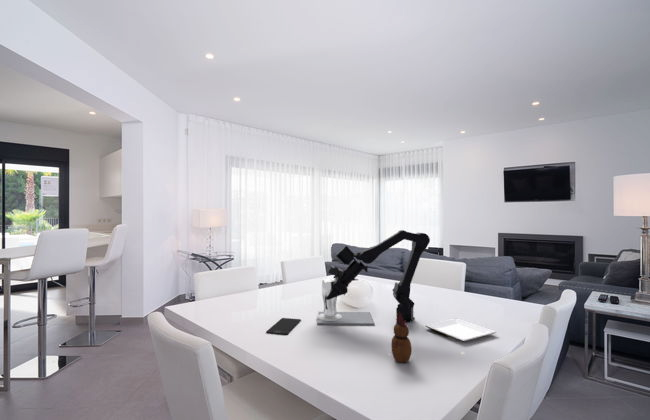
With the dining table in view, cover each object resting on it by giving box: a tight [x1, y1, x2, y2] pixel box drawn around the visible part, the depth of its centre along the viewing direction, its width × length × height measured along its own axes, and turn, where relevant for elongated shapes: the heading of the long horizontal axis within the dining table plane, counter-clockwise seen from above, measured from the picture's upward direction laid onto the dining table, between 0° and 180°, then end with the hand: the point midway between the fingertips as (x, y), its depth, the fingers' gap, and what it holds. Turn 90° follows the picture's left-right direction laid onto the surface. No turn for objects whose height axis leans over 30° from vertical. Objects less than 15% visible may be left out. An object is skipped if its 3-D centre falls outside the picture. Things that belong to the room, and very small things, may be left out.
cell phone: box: [265, 317, 302, 336], centre depth 132 cm, size 9×18×1 cm, turn 167°
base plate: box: [316, 311, 376, 326], centre depth 142 cm, size 24×16×1 cm, turn 89°
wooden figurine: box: [390, 311, 413, 364], centre depth 101 cm, size 7×6×15 cm
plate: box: [424, 318, 497, 343], centre depth 125 cm, size 19×19×2 cm
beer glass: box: [321, 278, 338, 317], centre depth 142 cm, size 7×7×15 cm
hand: (327, 297), depth 142 cm, fingers closed on beer glass, 6 cm apart
